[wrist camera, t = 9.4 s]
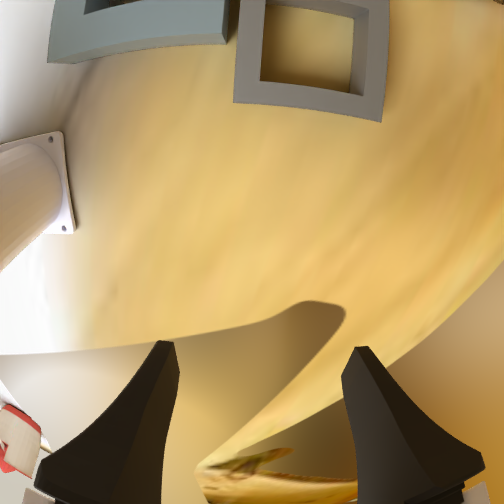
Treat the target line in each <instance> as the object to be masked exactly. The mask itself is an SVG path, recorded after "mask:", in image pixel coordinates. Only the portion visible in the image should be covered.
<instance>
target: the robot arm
mask: <svg viewBox="0 0 504 504" xmlns="http://www.w3.org/2000/svg"><path fill="white" fill-rule="evenodd" d="M51 137H53V142H52V140H51ZM64 226H65V227H66V228H67V229H66V228H65V227H64ZM75 230H76V225H75V220H74V215H73V210H72V204H71V198H70V192H69V185H68V178H67V170H66V162H65V151H64V139H63V134H62V132H60V131H55V132H50V133H46V134H41V135H36V136H32V137H28V138H24V139H20V140H16V141H12V142H8V143H5V144H1V145H0V272H1V271H2V270H3V269H4V268H5V267H6V266H7V265H8V264H9V263H10V262H11V261H12V260H13V259H14V258H15V257H16V256H17V255H18V254H19V253H20V252H21V251H22V250H23V249H25V248H26V247H27V246H28V245H29V244H30V243H31V242H32V241H33V240H34V239H35V238H36V237H38V236H39V235H40V234H41V233H52V234H73V233H74V232H75ZM179 374H180V371H179V366H178V361H177V356H176V352H175V347H174V343H173V342H169V341H161V340H159V341H157V342H156V344H155V345H154V347H153V349H152V350H151V352H150V353H149V355H148V356H147V358H146V359H145V361H144V362H143V364H142V365H141V367H140V368H139V369H138V371H137V372H136V374H135V375H134V376H133V378H132V379H131V380H130V382H129V383H128V384H127V386H126V387H125V388H124V389H123V391H122V392H121V393H120V394H119V395H118V397H117V398H116V399H115V400H114V402H113V403H112V404H111V405H110V406H109V407H108V408H107V409H106V410H105V411H104V412H103V413H102V414H101V415H100V416H99V417H98V418H97V419H96V420H95V421H94V422H93V423H92V424H91V425H90V426H89V427H88V428H86V429H85V430H84V431H83V432H82V433H80V434H79V435H78V436H77V437H75V438H74V439H73V440H71V441H70V442H69V443H67V444H66V445H65V446H63V447H62V448H60V449H59V450H57V451H55V452H54V453H52V454H50V455H49V456H47V457H46V458H44V459H42V460H41V463H40V465H39V467H38V471H37V474H36V478H35V481H34V487H35V488H36V489H38V490H39V491H41V492H43V493H45V494H47V495H49V496H51V497H53V498H55V500H52V499H50V498H47V497H45V496H43V495H41V494H39V493H37V492H35V491H33V490H31V489H29V488H26V490H25V494H24V498H23V502H22V504H161V486H162V471H163V459H164V450H165V443H166V437H167V433H168V430H169V425H170V421H171V417H172V413H173V408H174V405H175V400H176V396H177V390H178V382H179ZM341 380H342V389H343V396H344V400H345V405H346V409H347V413H348V417H349V421H350V425H351V429H352V434H353V438H354V443H355V449H356V459H357V471H358V472H357V475H358V501H357V504H490V499H489V496H488V492H487V488H486V484H485V482H484V481H483V482H481V483H479V484H478V485H476V486H474V487H473V488H470V489H469V490H467V491H465V492H463V493H462V490H461V489H463V488H464V487H465V484H464V481H466V480H468V479H469V478H471V477H473V476H475V475H476V474H478V473H480V472H481V471H483V470H484V469H485V464H484V461H483V458H482V455H481V452H479V451H477V450H475V449H473V448H471V447H469V446H467V445H466V444H464V443H462V442H461V441H459V440H458V439H456V438H454V437H453V436H452V435H450V434H449V433H447V432H446V431H445V430H444V429H442V428H441V427H440V426H438V425H437V424H436V423H435V422H434V421H432V420H431V419H430V418H429V417H428V416H427V415H426V414H425V413H424V412H423V411H422V410H420V409H419V407H418V406H417V405H416V404H415V403H414V402H413V401H412V400H411V399H410V398H409V397H408V396H407V394H406V393H405V392H404V391H403V390H402V389H401V387H400V386H399V385H398V384H397V382H396V381H395V380H394V379H393V378H392V376H391V375H390V374H389V372H388V371H387V370H386V369H385V367H384V366H383V365H382V363H381V362H380V361H379V359H378V358H377V357H376V356H375V354H374V353H373V352H372V350H371V349H370V348H369V347H368V346H361V347H355V348H354V350H353V352H352V354H351V356H350V358H349V361H348V363H347V365H346V367H345V369H344V371H343V373H342V375H341Z"/></svg>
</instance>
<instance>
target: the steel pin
mask: <svg viewBox="0 0 504 504" xmlns="http://www.w3.org/2000/svg"><path fill="white" fill-rule="evenodd" d="M121 1H122V2H124V3H125V4H127V3H132V2H137V1H142V0H121Z"/></svg>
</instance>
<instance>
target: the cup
mask: <svg viewBox="0 0 504 504" xmlns="http://www.w3.org/2000/svg"><path fill="white" fill-rule="evenodd" d="M494 1H495V2H497V3H499V4H502V5H504V0H494Z"/></svg>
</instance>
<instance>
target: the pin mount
mask: <svg viewBox="0 0 504 504" xmlns="http://www.w3.org/2000/svg"><path fill="white" fill-rule="evenodd" d="M265 4H271V5H281V6H290V7H297V8H304V9H310V10H316V11H321V12H327V13H331V14H336V15H341V16H345V17H349V18H353V19H354V34H353V51H352V65H351V77H350V88H349V93H345V92H340V91H334V90H329V89H323V88H317V87H310V86H303V85H295V84H286V83H276V82H265V81H260V69H261V55H262V42H263V28H264V15H265ZM388 46H389V0H241V1H240V13H239V24H238V37H237V50H236V64H235V79H234V95H233V103H246V104H262V105H274V106H285V107H294V108H302V109H310V110H317V111H324V112H330V113H336V114H342V115H347V116H353V117H358V118H363V119H367V120H372V121H376V122H381V121H382V114H383V106H384V97H385V87H386V76H387V63H388Z"/></svg>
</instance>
